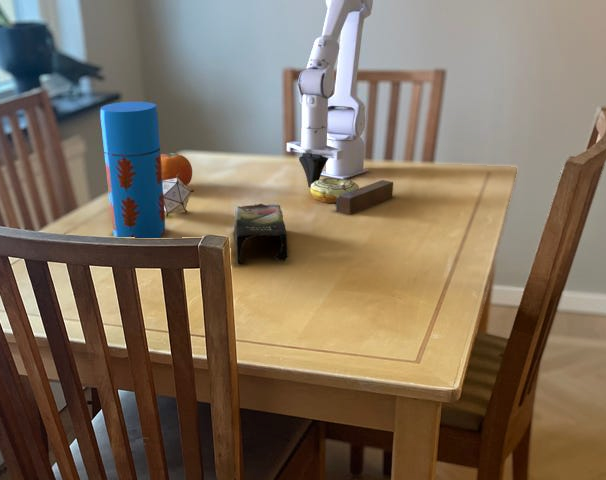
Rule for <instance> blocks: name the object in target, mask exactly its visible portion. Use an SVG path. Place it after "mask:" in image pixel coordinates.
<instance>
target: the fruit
mask: <svg viewBox="0 0 606 480" xmlns="http://www.w3.org/2000/svg"><path fill="white" fill-rule="evenodd" d="M161 168H162V180H167V179H172V178H177V175H178V174H179V177H178V178H179V179H180V180H181V181H182V182H183V183H184V184H185V185H186V186H187V187H188V185H189V184H190V183H191V181H192V178H193V166H192V164H191V162H190V161H189V159H188V158H187V157H185V156H184V155H181V154H179V153H175V152H170V153H163V154H162V153H161Z"/></svg>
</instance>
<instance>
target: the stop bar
mask: <svg viewBox="0 0 606 480" xmlns="http://www.w3.org/2000/svg"><path fill="white" fill-rule="evenodd" d="M393 191H394V181H390V180H385V179H381V180H378V181H376V182H373V183H370V184H367V185H365V186H362V187H359V189H357V190H354V191H351V192H348V193H346V194H343V195H340V196H339V197H337V202H335V203H336V205H335V207H336V208H335V212H336V213H337V212H338V213H342V214H346V215H352V214H354V213H357V212H359V211H362V210H364V209H367V208H369V207H372V206H375V205H377V204H379V203H382V202H384V201H387V200H390V199H392V198H393V193H394V192H393Z"/></svg>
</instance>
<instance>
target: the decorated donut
mask: <svg viewBox="0 0 606 480" xmlns="http://www.w3.org/2000/svg"><path fill="white" fill-rule="evenodd" d="M359 188H360V185H359V184H358V183H356V182H355V181H353V180H351V179H347V178H346V179H341V178H334V177H326V178H320V179H319V180H317V181H315V182H314V183H312V184H311V188H309V191H310V193H311V196H312V197H313V198H314V200H316V201H320V202H321V203H327V204H330V203H333V204H334V203H337V197H339V196H340V195H343V194H346V193H348V192H351V191H354V190H357V189H359Z"/></svg>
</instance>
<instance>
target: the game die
mask: <svg viewBox="0 0 606 480" xmlns="http://www.w3.org/2000/svg"><path fill="white" fill-rule="evenodd" d="M178 177H179V174H178V175H177V178H172V179H167V180H162V182H163V196H164V210H165V219H166V218H168V217H169V214H174V213H178V212H183V211H184V212H185V213H186V214H188V210H187V207H188V206H187V205H188V202H189V200H190V196H191V194H192V193H194V192H195V189H190V188H189V187H188V185H187V186H186V185H185V184H184V183H183V182H182V181H181V180H180V179H179V178H178ZM185 213H184V214H185Z"/></svg>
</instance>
